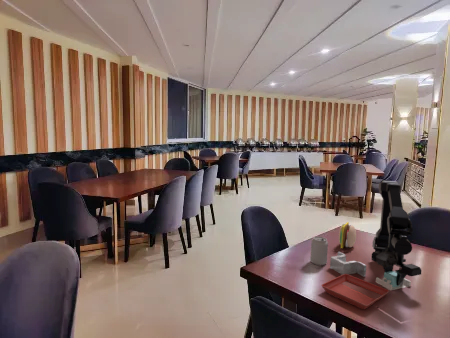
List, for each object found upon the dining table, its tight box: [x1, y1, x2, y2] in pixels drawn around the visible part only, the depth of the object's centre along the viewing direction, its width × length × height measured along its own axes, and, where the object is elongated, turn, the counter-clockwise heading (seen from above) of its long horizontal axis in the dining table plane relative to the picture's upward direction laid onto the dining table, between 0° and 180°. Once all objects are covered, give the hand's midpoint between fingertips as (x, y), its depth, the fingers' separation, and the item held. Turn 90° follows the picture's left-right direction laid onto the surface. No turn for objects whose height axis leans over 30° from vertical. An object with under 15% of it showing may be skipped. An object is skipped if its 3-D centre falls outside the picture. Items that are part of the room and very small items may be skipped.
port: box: [329, 251, 367, 278], centre depth 137 cm, size 8×16×6 cm, turn 21°
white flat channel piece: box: [375, 276, 412, 291], centre depth 124 cm, size 11×7×2 cm, turn 111°
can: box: [309, 236, 329, 266], centre depth 144 cm, size 8×8×12 cm
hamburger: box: [338, 221, 357, 249], centre depth 168 cm, size 12×8×12 cm
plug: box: [381, 269, 403, 287], centre depth 124 cm, size 7×4×4 cm, turn 111°
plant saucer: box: [321, 274, 390, 310], centre depth 116 cm, size 18×18×3 cm
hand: (393, 282), depth 124 cm, fingers closed on plug, 4 cm apart
